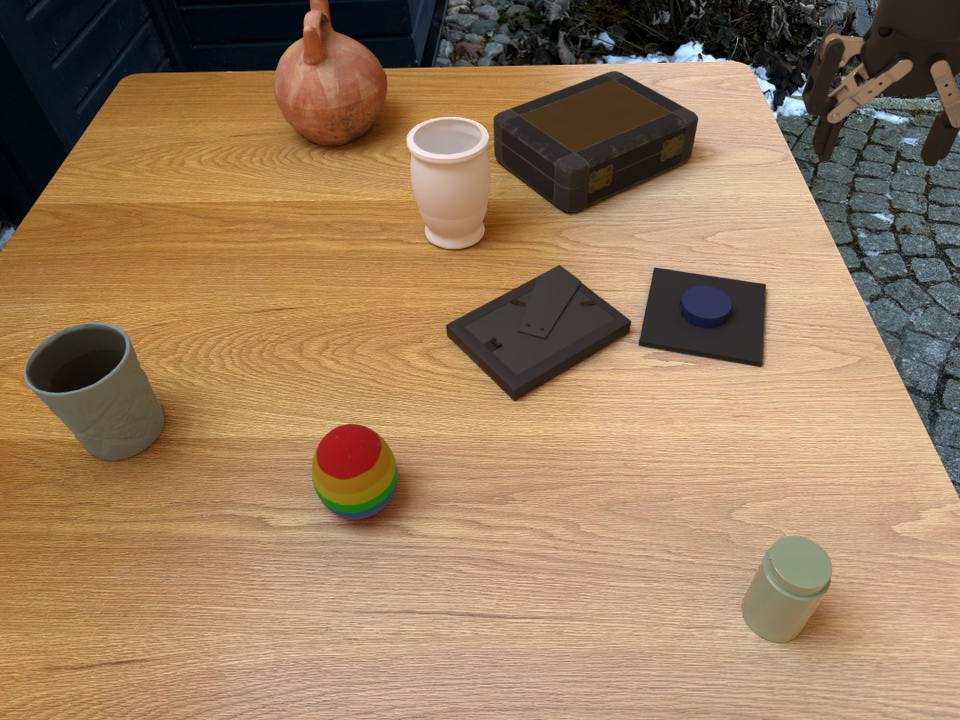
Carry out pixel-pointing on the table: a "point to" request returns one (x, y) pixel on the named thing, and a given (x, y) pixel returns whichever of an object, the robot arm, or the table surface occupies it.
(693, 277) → the mat
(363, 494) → the decorative egg
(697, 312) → the lid
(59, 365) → the grey cup
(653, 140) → the cash box
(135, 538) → the table surface
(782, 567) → the spice jar
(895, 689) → the table surface
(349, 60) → the jug
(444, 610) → the table surface
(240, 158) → the table surface
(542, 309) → the picture frame
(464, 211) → the jar
